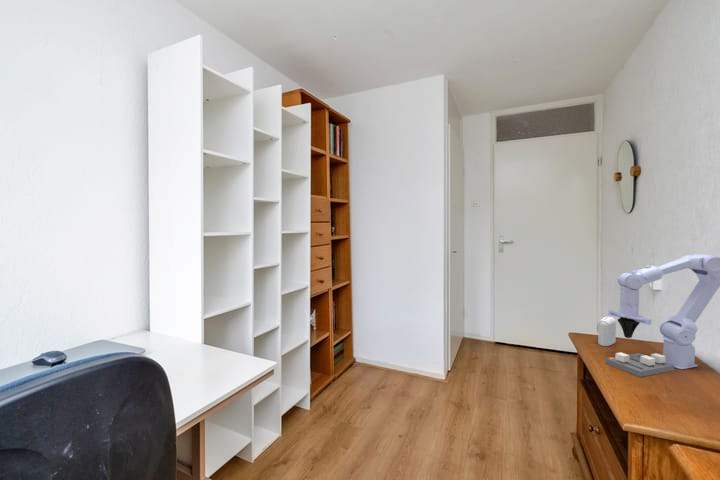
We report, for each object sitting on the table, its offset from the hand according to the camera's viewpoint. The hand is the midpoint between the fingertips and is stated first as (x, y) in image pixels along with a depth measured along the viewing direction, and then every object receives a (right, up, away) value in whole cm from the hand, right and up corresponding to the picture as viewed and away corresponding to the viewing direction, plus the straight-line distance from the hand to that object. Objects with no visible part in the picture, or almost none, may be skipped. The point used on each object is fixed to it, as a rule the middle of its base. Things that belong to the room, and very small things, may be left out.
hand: (628, 337), depth 128 cm
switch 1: (-7, -7, -5) cm, 11 cm away
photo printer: (+6, -9, +19) cm, 22 cm away
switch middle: (0, -7, -8) cm, 11 cm away
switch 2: (+6, -7, -6) cm, 11 cm away
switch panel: (0, -10, -5) cm, 11 cm away
